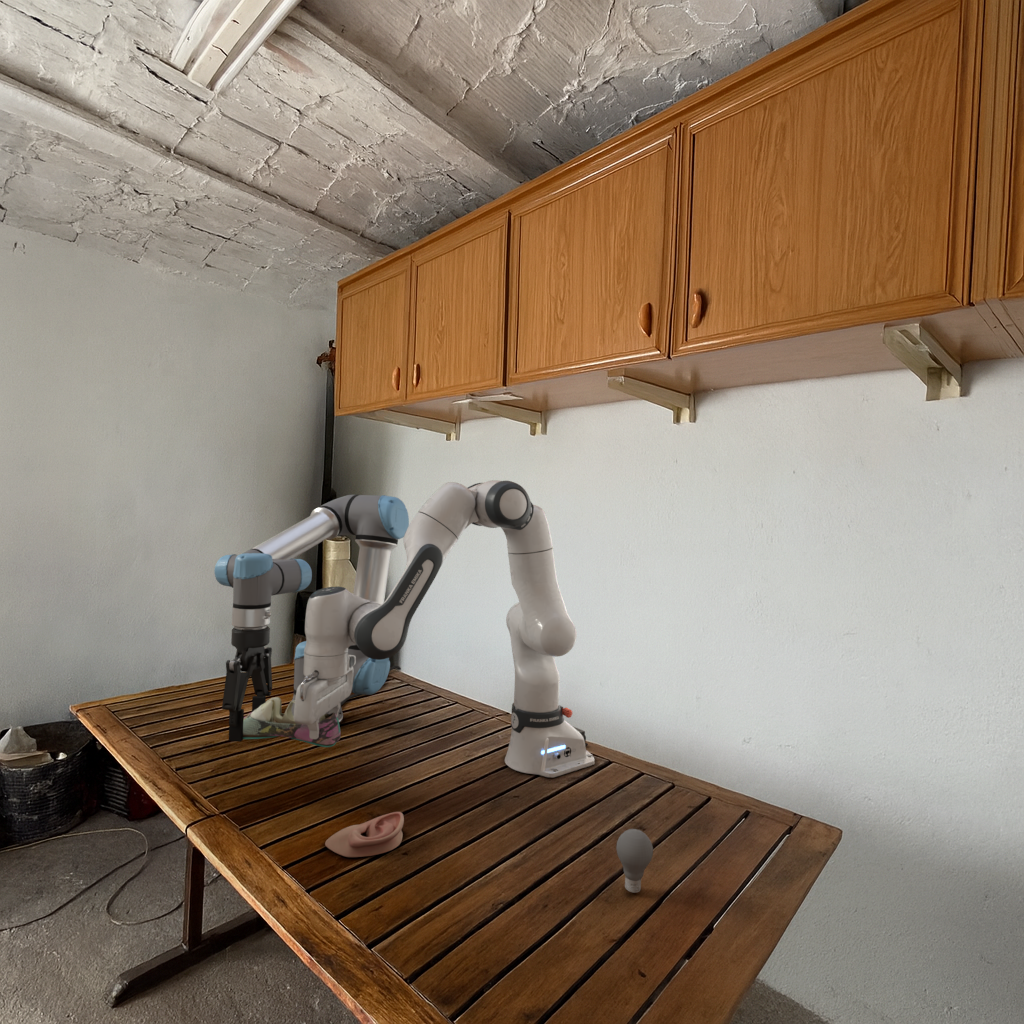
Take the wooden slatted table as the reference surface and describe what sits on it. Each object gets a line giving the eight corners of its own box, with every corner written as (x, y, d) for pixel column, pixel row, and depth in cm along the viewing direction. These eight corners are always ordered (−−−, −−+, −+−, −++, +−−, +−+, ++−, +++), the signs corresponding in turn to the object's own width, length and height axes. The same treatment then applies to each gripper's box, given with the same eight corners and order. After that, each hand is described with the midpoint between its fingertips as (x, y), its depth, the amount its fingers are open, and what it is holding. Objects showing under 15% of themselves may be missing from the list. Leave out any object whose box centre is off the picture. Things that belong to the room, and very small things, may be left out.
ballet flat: (244, 727, 140) (245, 688, 140) (348, 738, 136) (349, 698, 136) (221, 741, 132) (222, 700, 131) (331, 753, 128) (332, 711, 127)
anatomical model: (317, 830, 113) (346, 800, 124) (316, 852, 113) (345, 821, 124) (387, 841, 110) (410, 810, 121) (386, 864, 110) (410, 831, 121)
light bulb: (610, 879, 108) (613, 822, 108) (644, 879, 109) (647, 822, 109) (619, 902, 102) (622, 840, 102) (655, 901, 103) (658, 840, 103)
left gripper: (239, 637, 124) (235, 753, 124) (291, 619, 144) (287, 718, 144) (204, 635, 125) (200, 749, 125) (261, 616, 145) (257, 715, 146)
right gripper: (317, 680, 121) (314, 751, 122) (359, 654, 142) (357, 716, 142) (286, 677, 122) (284, 748, 123) (332, 652, 142) (330, 713, 143)
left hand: (247, 733), depth 135 cm, fingers closed on ballet flat, 8 cm apart
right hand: (323, 731), depth 132 cm, fingers closed on ballet flat, 6 cm apart
